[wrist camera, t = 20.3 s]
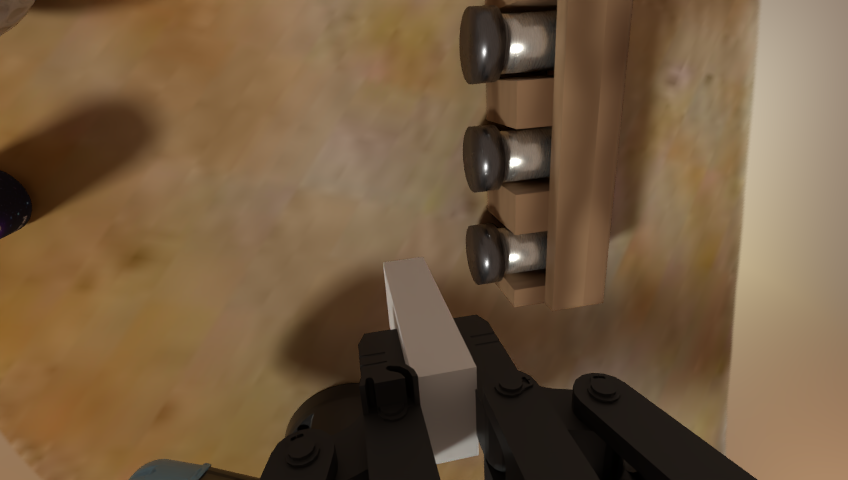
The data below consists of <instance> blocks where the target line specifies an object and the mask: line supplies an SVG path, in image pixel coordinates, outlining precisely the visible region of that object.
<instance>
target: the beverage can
mask: <svg viewBox="0 0 848 480" xmlns="http://www.w3.org/2000/svg"><path fill="white" fill-rule="evenodd" d="M31 212H32V204H31V200H30V197H29V195H28V193H27V191H26V190H25V188H24V187H23V186H22V185H21V184H20V183H19V182H18V181H17V180H16V179H15V178H13V177H12V176H10V175H9V174H7V173H5V172H3V171H1V170H0V239H1V238H3V237H5V236H7V235H9V234H11V233H13V232H15V231H17V230H19V229H21V228H22V227H23V226H25V225H26V223H27V222H28V221H29V219H30V216H31Z"/></svg>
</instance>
